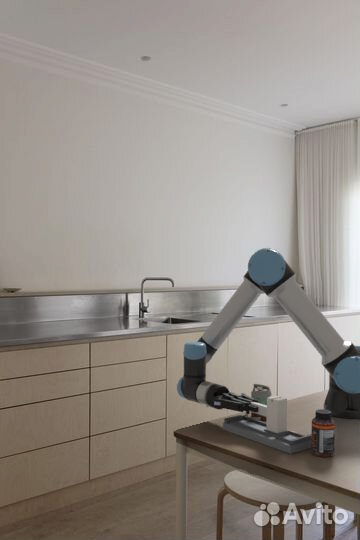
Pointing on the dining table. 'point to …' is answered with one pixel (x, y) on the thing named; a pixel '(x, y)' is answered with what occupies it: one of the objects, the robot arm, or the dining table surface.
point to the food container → (260, 399)
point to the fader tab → (277, 416)
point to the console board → (266, 434)
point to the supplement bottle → (323, 434)
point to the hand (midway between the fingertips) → (268, 411)
